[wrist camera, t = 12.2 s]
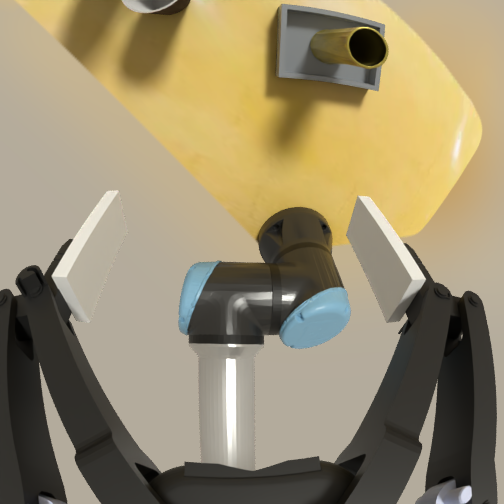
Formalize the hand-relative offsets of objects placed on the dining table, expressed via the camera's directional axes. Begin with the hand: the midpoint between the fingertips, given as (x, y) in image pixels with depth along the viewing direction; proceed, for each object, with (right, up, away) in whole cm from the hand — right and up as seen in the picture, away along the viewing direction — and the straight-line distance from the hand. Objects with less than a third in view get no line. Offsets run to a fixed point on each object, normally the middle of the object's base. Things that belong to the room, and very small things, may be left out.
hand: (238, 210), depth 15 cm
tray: (+12, +30, +18) cm, 37 cm away
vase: (+12, +29, +18) cm, 36 cm away
